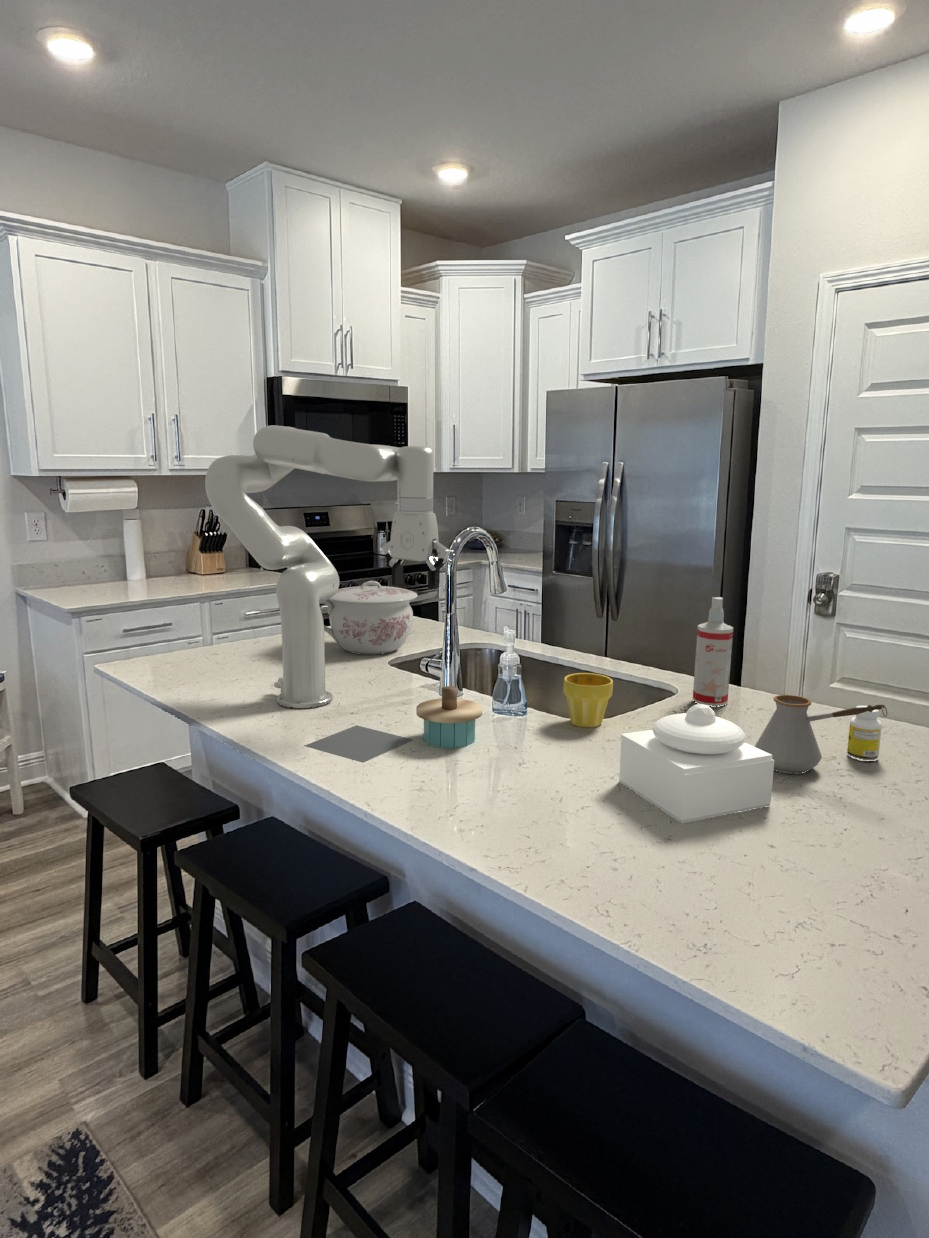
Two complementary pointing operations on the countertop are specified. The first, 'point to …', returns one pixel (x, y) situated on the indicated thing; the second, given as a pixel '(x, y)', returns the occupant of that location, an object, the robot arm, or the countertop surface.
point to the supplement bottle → (865, 735)
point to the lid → (449, 708)
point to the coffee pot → (797, 733)
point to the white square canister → (696, 766)
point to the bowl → (449, 734)
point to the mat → (359, 743)
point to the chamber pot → (370, 617)
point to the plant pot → (587, 697)
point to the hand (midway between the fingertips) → (415, 586)
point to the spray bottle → (713, 658)
